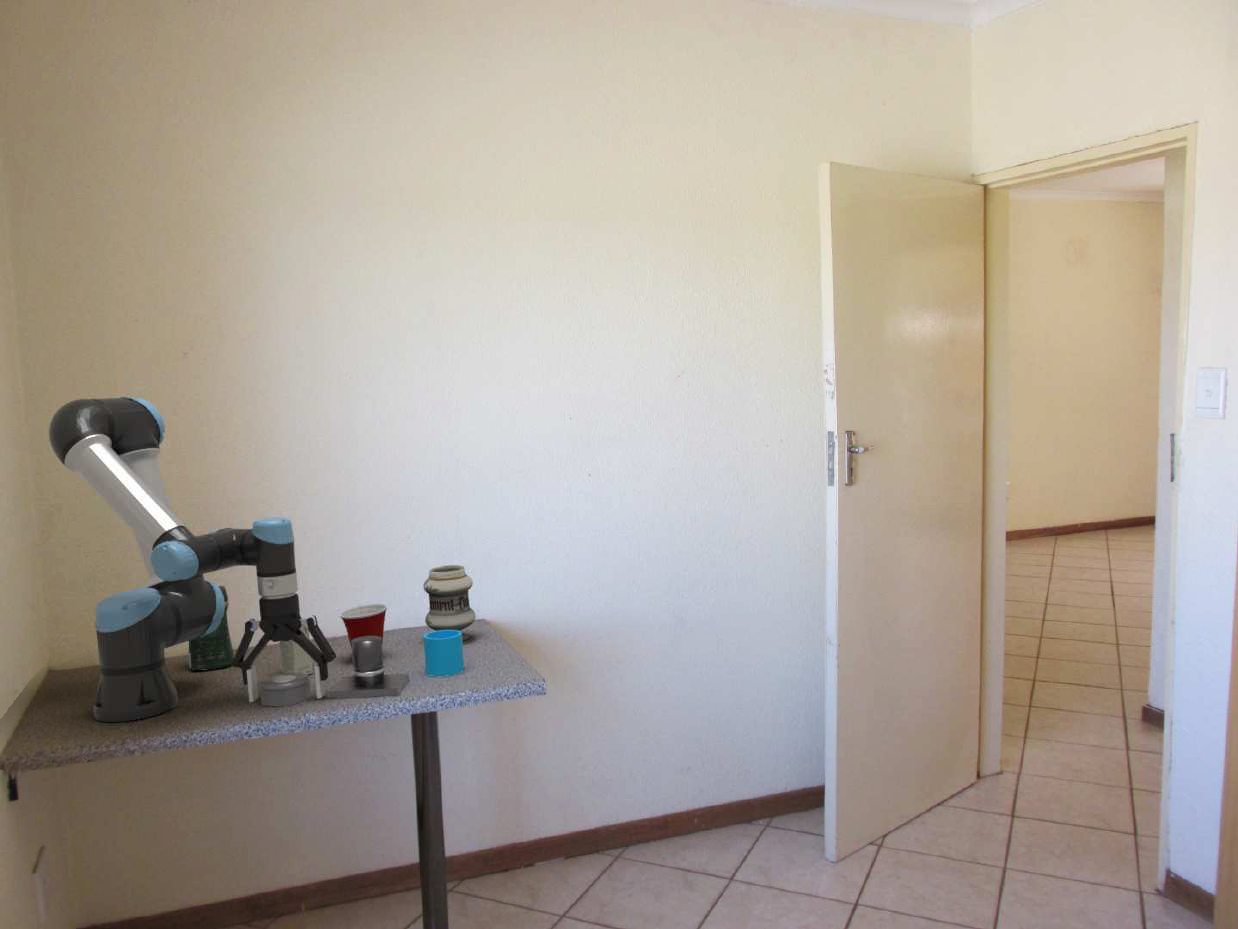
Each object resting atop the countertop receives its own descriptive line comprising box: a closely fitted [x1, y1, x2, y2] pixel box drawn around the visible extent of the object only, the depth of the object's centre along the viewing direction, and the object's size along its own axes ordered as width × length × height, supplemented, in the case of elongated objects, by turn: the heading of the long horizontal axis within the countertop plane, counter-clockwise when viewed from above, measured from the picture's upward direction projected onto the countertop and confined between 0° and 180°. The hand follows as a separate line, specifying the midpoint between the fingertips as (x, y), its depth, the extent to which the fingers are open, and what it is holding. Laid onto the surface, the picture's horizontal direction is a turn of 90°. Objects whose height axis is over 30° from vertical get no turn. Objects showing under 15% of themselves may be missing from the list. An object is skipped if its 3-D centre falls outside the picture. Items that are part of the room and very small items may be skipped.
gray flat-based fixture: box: [327, 636, 410, 699], centre depth 201 cm, size 14×10×10 cm
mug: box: [423, 630, 465, 677], centre depth 213 cm, size 12×8×8 cm
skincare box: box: [278, 617, 314, 676], centre depth 215 cm, size 6×4×12 cm
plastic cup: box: [339, 603, 388, 649], centre depth 224 cm, size 11×11×12 cm
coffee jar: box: [188, 585, 235, 671], centre depth 224 cm, size 10×8×19 cm
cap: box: [259, 673, 312, 707], centre depth 197 cm, size 9×9×4 cm
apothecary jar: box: [423, 564, 477, 645], centre depth 237 cm, size 12×12×18 cm
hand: (287, 698), depth 197 cm, fingers open, 13 cm apart
